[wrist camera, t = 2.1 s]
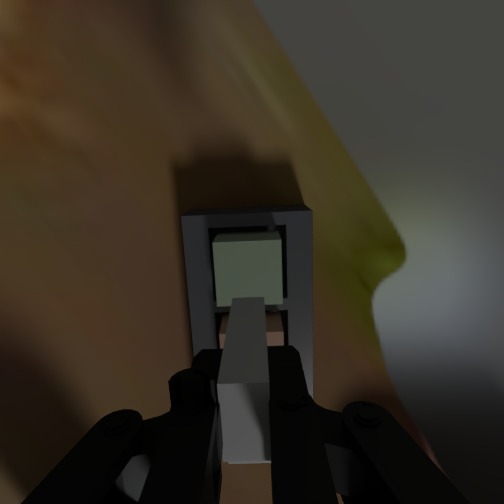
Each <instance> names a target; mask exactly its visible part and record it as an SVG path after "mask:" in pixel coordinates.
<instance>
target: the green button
mask: <svg viewBox="0 0 504 504" xmlns="http://www.w3.org/2000/svg"><path fill="white" fill-rule="evenodd" d="M213 256H214V270H215V284H216V298H217V307H220V306H231V303H232V298H245V297H264V303H265V305H272V304H283V292H282V250H281V238H280V235H279V232H278V230H275V231H252V232H228V233H217V235H216V237H215V239H214V241H213Z"/></svg>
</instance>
